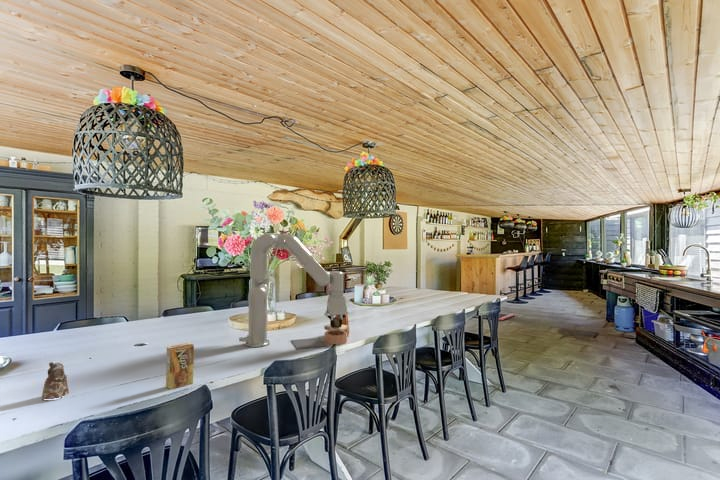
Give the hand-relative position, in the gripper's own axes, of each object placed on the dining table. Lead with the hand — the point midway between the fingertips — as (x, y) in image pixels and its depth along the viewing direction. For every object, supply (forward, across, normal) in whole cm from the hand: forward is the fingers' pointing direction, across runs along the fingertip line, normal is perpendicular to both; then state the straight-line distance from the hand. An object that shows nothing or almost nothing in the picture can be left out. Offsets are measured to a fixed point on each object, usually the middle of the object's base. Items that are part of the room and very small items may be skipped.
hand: (336, 326), depth 207 cm
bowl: (+8, 0, 0) cm, 8 cm away
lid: (+1, 0, 0) cm, 1 cm away
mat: (+8, -15, +1) cm, 17 cm away
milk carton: (+9, +8, +14) cm, 18 cm away
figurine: (+8, -115, -35) cm, 121 cm away
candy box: (+8, -75, -38) cm, 85 cm away
